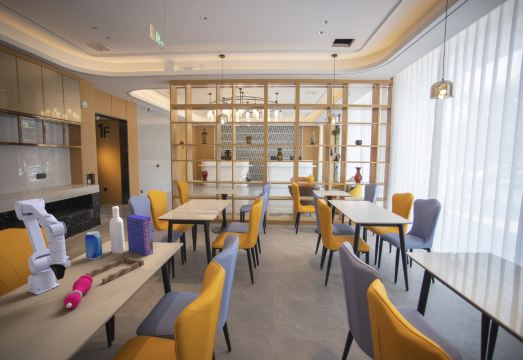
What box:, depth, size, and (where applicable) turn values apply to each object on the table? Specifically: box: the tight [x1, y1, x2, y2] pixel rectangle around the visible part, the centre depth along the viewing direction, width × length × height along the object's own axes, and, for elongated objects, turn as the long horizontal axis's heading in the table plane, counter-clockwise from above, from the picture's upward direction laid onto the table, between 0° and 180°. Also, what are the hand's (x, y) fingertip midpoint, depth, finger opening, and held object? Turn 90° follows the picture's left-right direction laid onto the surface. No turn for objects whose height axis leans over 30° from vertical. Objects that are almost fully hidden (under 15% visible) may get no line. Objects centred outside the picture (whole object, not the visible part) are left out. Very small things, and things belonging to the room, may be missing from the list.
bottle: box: [109, 205, 126, 254], centre depth 166 cm, size 8×8×30 cm
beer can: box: [84, 230, 103, 261], centre depth 157 cm, size 8×8×16 cm
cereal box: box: [126, 214, 154, 257], centre depth 165 cm, size 17×5×24 cm, turn 64°
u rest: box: [85, 255, 145, 285], centre depth 140 cm, size 24×15×2 cm, turn 155°
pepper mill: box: [63, 274, 94, 309], centre depth 113 cm, size 7×7×20 cm
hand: (60, 278), depth 115 cm, fingers closed
